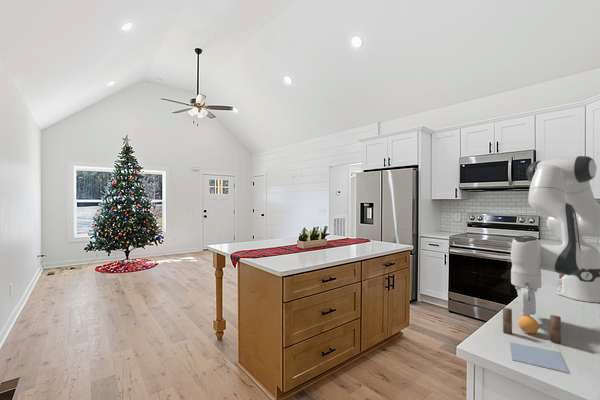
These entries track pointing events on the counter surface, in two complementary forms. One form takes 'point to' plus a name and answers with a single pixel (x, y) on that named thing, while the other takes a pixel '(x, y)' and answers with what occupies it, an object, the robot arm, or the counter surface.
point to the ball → (528, 324)
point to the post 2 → (555, 329)
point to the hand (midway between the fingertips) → (526, 318)
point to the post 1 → (507, 321)
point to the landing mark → (538, 357)
